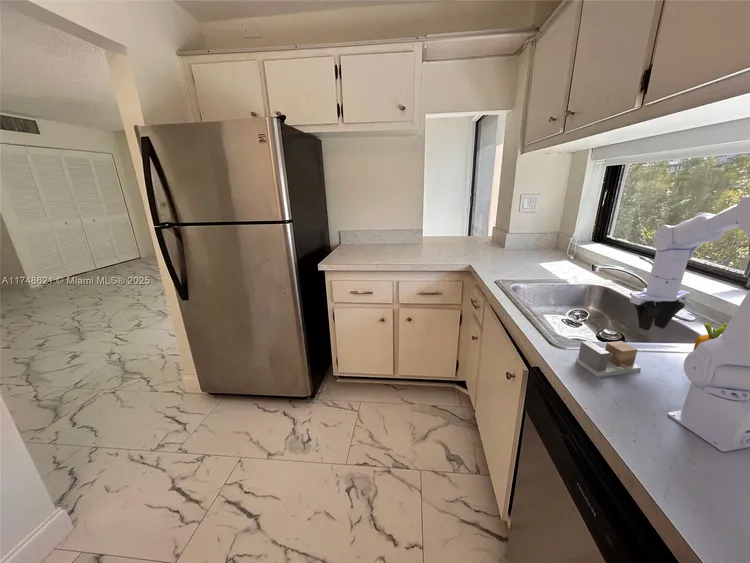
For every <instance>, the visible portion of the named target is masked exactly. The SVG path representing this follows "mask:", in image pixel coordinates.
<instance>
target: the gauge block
mask: <svg viewBox="0 0 750 563" xmlns="http://www.w3.org/2000/svg"><path fill="white" fill-rule="evenodd" d="M604 350H606V351H608V352H609V353H610V355H609V359H608V361H610V362H611V363H613V364H614V365H616V366H618V367H621V366H622V367H623V368H625V369H626V370H630V368H629V367H627V366H629V365H634V364H635V360H636V356H637V353H638V351H639V350H638V349H637V348H636V347H634V346H633V345H630V344H629V343H626V342H625V341H623V340H618V341H611V342H610V341H609V342H608V341H607V342H606V345H605V349H604Z"/></svg>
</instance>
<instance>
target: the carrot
mask: <svg viewBox="0 0 750 563" xmlns="http://www.w3.org/2000/svg"><path fill="white" fill-rule="evenodd" d="M728 324H729V323H728V322H727V323H726V322H724V323H723V324H722V325H721V326H719V327H718V328H717V329H716V328H712V324H710V322H707V323H704V324H703V326H704V328H705V330H706V332H707V334H702V335H699V336H697V337H696V339H695V343H694V346H693V350H692V351H694V350H695V349H696V348H697V347H698V345H699V344H700V343H702V342H705V341H708V340H711V339H715V338H718V337H720V336H721V335H722V334H723V332H724V330H725V329H726V327H727V325H728Z"/></svg>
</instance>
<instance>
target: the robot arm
mask: <svg viewBox="0 0 750 563" xmlns="http://www.w3.org/2000/svg"><path fill="white" fill-rule="evenodd" d="M738 228H740V229H741V230H742V232H743V233H744V235H746V238H748V240H749V241H750V194H748V195H744V196H742V197H741V198H740V199H739V201H738V202H737V203H736V204H734V205H733V206H730V207H728V208H725V209H724V210H722V211H721V212H718V213H716V214H714V213H709V212H698V213H696V214H695V215H694V217H692V218H690V219H687V220H682V221H680V222H679V224H676V225H668V224H662V225H661V226H660V227H658V228H657V229H656V231H655V233H654V236H653V242H652V243H653V246H654V248H655V249H656V252H655V256H654V260H653V263H652V268H651V271H650V275H649V277H648V278H649V279H648V281H647V284H646V288H642V289H641V292H638V293H636V294H631V296H630V300H629V303H632V304H633V305H634V308H635V310H636V313H637V318H638V319H637V321H638V328H639V329H642V330H643V331H645V332H646V331H647V332H648V331H650V329H651V328H652V325H654V326H655V327H657V328H659V329H661V330H664V329H666V328H667V326H668V325H669V323H670V321H671V320H672V319H673V318H674V316H675V315H676V314H677V313H679V312H680V311H682V310H683V309H684V308H685V305H686V303H684V302H681V301H680V300H682V301H688V300H689V299H690V296H691V292H689V291H686V290H683V289H681V290H680V288H681V286H682V282H683V279H684V275H685V271H686V268H687V265H688V262H689V260H691V259H692V258H693V256H694V254H695V252H696V251H697V250H698V248H699V247H700V246H701V245H705V244H707V243H711V242H713V241H718V240H720V239H721V238H723V236H724V235H725V234H726V232H727V231H731V230H735V229H738ZM727 324H728V325H727V327H726V329H725V330H724V332H723V334H721V335H720V336H719V337H718V338H715V339H711V340H708V341H705V342H702V343H700V344H699V345H698V347H697V348H696V349H695V350H694V349H693V350H694V351H693V350H692V351H691V352H689V353H688V354H687V355H686V357H685V359H684V362H683V371H684V373H685V376H686V377H687V378H688V380H689V381H690V382H691V384H690V386H689V388H688V392H687V395H686V397H685V400H684V404H683V406H682V409H681V410H676V411H669V412H667V416H669V417H670V418H671V419H673V420H675V421H676V422H677V423H679V424H680V425H681V426H683V427H685V428H687V429H688V430H689V431H691V432H692V433H694V434H695V435H697V436H698V437H700V438H701V439H702V440H704V441H706V442H707V443H709V444H710V445H712V446H714V447H715V448H716V449H718V450H719V451H721V452H730V451H731V452H732V451H736V450H741V449H745V448H750V289H749V290H748V292H747V293H746V295H745V297H744V298H743V299H742V301H741V303H740V304H739V306H738V307H737V309H736V311H735V312H734V314H733V316H732V317H731V319H730V321H729V323H727Z"/></svg>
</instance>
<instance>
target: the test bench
mask: <svg viewBox="0 0 750 563" xmlns="http://www.w3.org/2000/svg"><path fill="white" fill-rule="evenodd" d="M609 355H610V353H609V352H608V351H606V350H605V349H604V348H603V347H601V346H599V345H598V344H596V343H594V342H592V341H590V340H587V341H585V340H584V341H581V342H580V346H579V351H578V357H576V359H575V362H576V364H578V365H579V366H581V367H582V368H583V369H585V370H586V371H588V372H589V373H591V374H592V375H594V376H595V377H597V378H603V377H604V378H605V377H609V376H619V375H624V374H625V375H626V374H633V373H640V372H641V370H642V367H641V366H639V365H638V364H636V363H634V365H629V366H627V367H629V368H630V370H626V369H625V368H623V367H622V366H621V367H618V366H616V365H614V364H613V363H611V362H610V361H608V359H609Z"/></svg>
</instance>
